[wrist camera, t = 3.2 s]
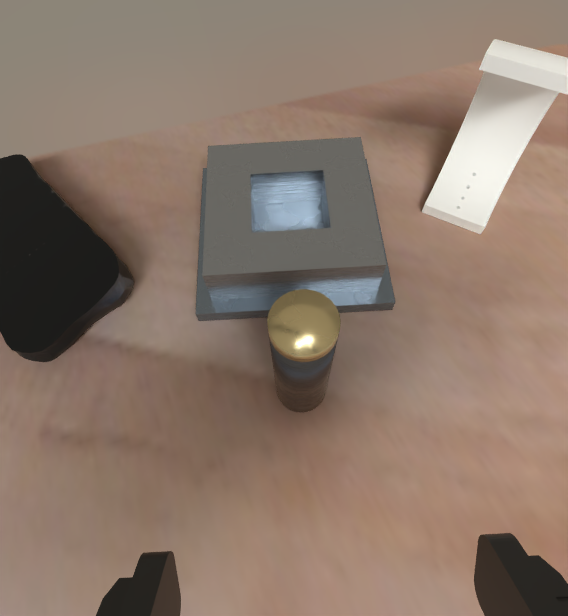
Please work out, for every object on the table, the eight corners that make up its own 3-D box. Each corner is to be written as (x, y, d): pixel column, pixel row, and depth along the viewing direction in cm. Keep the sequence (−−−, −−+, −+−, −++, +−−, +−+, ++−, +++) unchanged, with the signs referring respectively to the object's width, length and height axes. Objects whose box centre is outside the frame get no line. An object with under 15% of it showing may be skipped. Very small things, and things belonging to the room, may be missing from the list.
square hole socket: (198, 320, 28) (184, 291, 24) (205, 177, 34) (195, 137, 30) (392, 309, 28) (406, 278, 24) (364, 168, 34) (372, 127, 30)
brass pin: (277, 413, 25) (268, 357, 16) (275, 366, 26) (266, 291, 18) (327, 410, 25) (344, 352, 16) (323, 363, 26) (336, 287, 18)
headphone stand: (421, 212, 32) (484, 53, 21) (447, 161, 34) (516, -4, 23) (480, 235, 30) (580, 79, 20) (503, 181, 33) (603, 16, 22)
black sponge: (154, 300, 29) (136, 271, 26) (45, 381, 26) (10, 361, 23) (42, 179, 35) (15, 143, 31) (-57, 236, 32) (-96, 203, 29)
